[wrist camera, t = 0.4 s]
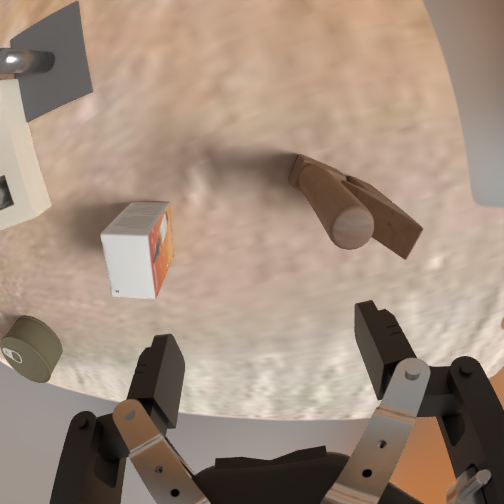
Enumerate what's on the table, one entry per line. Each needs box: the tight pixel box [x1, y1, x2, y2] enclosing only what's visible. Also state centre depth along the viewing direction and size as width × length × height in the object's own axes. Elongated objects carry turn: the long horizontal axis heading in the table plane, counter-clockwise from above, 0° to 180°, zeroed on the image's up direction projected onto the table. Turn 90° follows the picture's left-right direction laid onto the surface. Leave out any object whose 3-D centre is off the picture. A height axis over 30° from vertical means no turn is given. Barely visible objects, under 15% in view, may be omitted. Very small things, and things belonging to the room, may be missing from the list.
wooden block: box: [289, 154, 423, 260], centre depth 31 cm, size 4×11×18 cm, turn 69°
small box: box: [100, 202, 174, 299], centre depth 36 cm, size 8×6×10 cm
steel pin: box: [0, 48, 55, 74], centre depth 24 cm, size 3×3×10 cm
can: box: [0, 316, 62, 383], centre depth 48 cm, size 12×12×7 cm
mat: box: [11, 1, 93, 123], centre depth 29 cm, size 14×12×1 cm
